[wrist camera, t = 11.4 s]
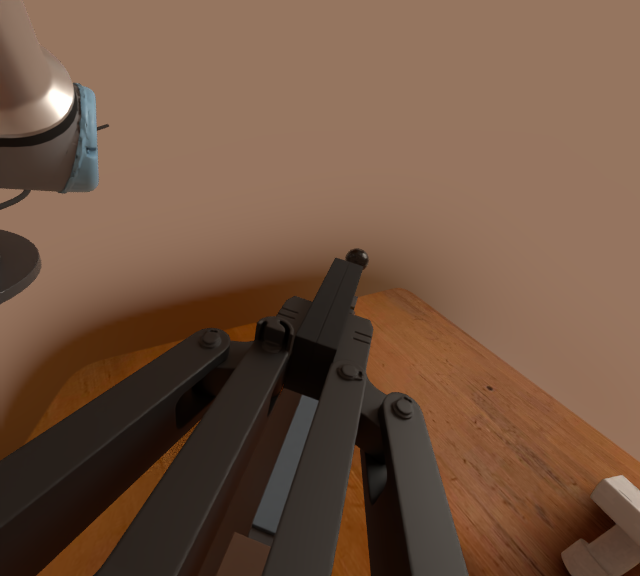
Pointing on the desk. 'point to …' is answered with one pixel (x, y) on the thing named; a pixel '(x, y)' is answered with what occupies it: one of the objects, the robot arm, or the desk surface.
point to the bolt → (357, 257)
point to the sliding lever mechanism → (262, 490)
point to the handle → (610, 533)
